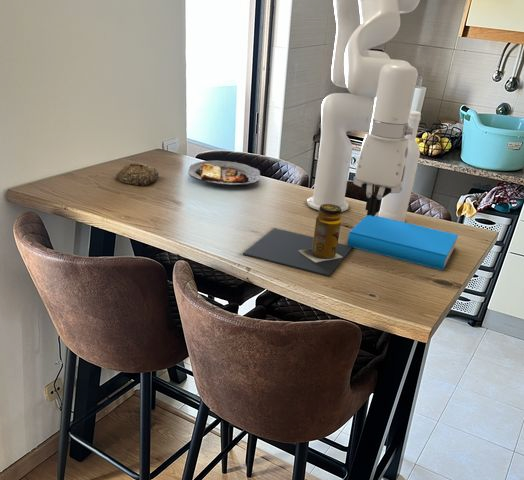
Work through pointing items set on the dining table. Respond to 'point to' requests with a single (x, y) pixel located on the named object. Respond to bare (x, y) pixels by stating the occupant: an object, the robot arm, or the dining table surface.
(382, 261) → the dining table surface
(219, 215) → the dining table surface
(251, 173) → the food plate
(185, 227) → the dining table surface
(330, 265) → the mat
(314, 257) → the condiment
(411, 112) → the bottle
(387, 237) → the book
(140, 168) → the bread roll
